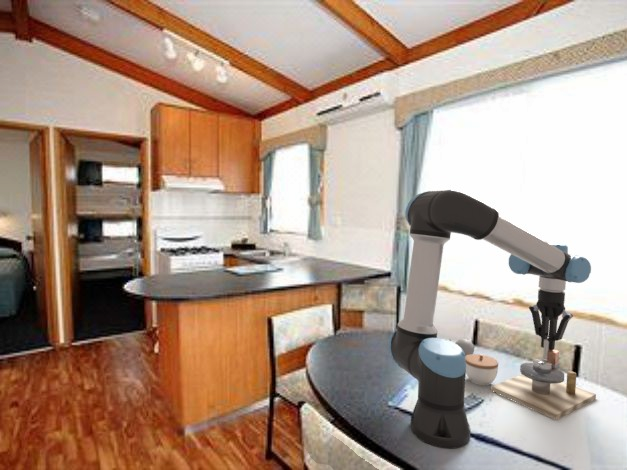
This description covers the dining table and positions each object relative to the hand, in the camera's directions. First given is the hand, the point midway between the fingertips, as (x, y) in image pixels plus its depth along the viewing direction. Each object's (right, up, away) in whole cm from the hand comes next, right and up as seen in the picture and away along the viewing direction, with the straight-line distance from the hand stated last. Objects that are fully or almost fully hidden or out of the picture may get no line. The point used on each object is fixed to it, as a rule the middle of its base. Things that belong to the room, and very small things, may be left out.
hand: (546, 357), depth 127 cm
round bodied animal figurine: (-22, -8, +23) cm, 32 cm away
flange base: (-6, -10, -7) cm, 13 cm away
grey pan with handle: (-4, -3, -5) cm, 7 cm away
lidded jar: (-21, -9, +3) cm, 24 cm away
